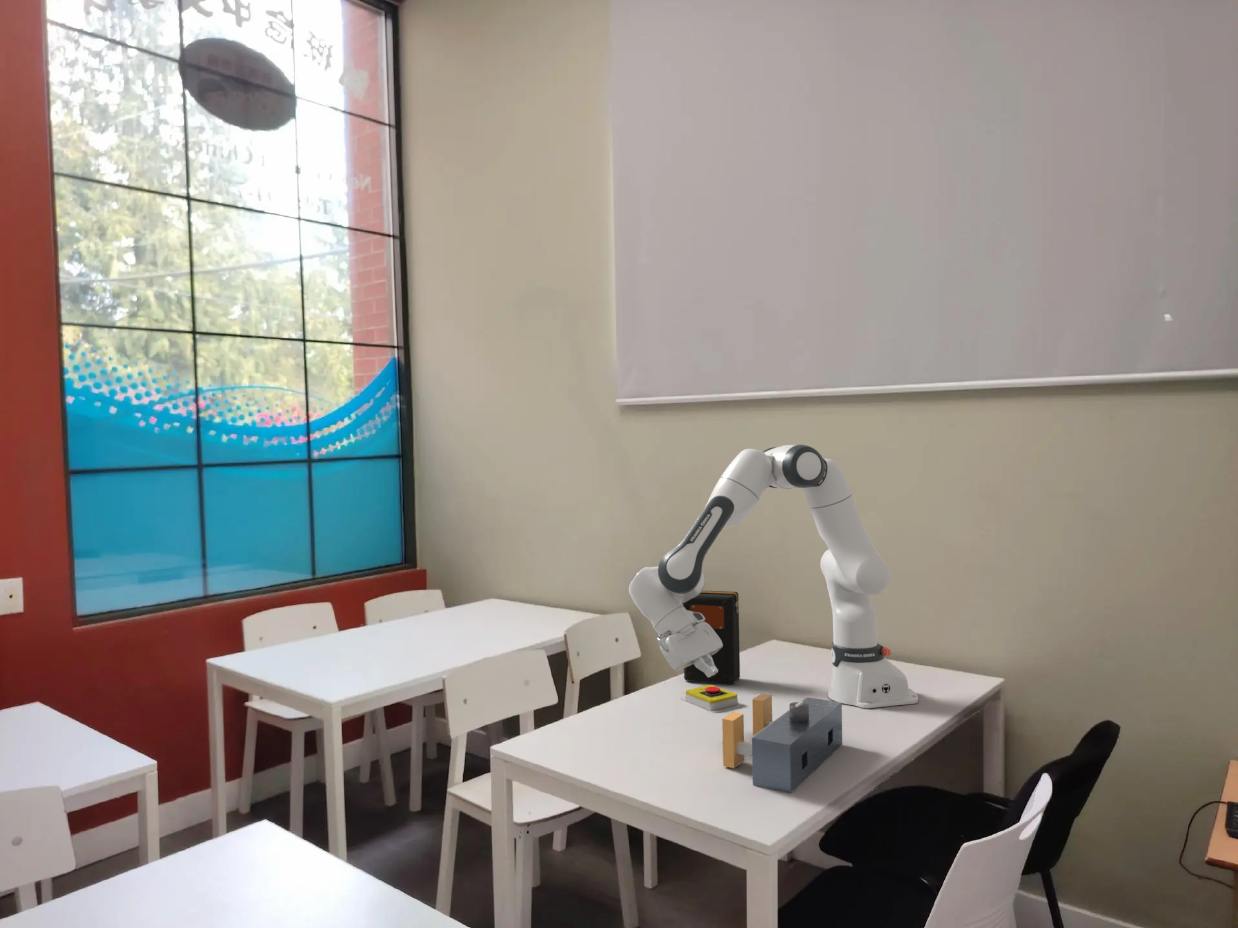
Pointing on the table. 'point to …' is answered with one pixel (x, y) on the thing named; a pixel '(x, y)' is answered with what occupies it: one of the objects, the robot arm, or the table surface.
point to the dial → (799, 712)
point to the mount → (796, 746)
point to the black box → (725, 622)
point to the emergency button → (712, 698)
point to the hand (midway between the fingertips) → (713, 674)
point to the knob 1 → (734, 740)
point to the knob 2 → (761, 712)
